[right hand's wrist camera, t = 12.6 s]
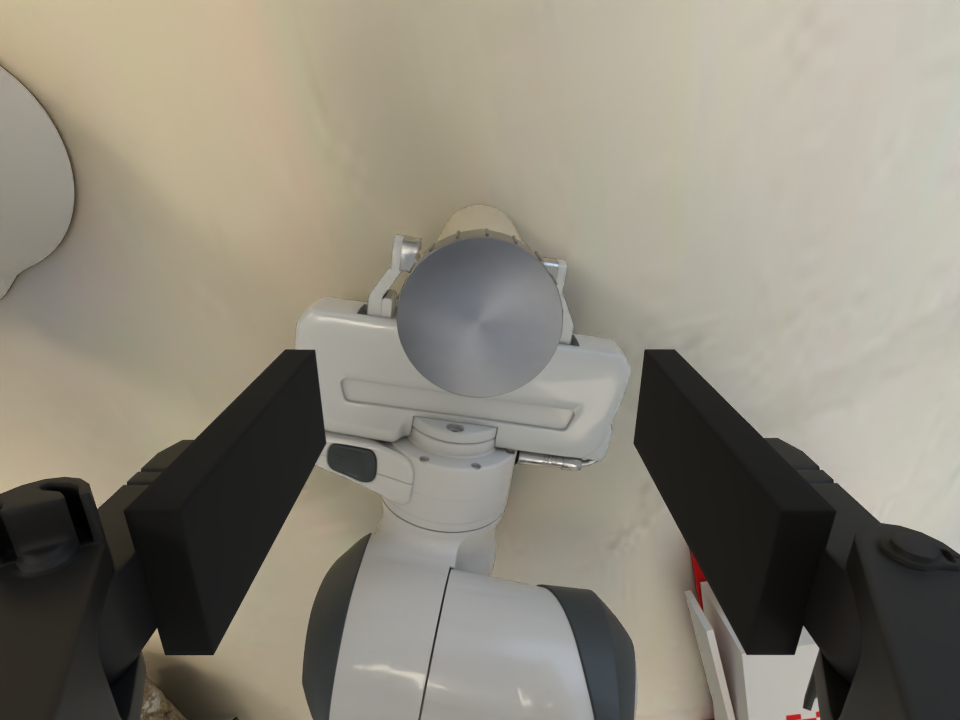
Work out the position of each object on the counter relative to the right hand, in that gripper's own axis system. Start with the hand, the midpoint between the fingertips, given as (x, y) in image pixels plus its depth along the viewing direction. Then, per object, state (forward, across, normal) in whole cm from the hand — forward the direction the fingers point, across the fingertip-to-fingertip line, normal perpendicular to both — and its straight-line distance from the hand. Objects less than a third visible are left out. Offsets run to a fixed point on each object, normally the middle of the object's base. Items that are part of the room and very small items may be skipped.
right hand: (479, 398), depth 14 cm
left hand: (+19, 0, -1) cm, 19 cm away
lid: (+7, 0, 0) cm, 7 cm away
